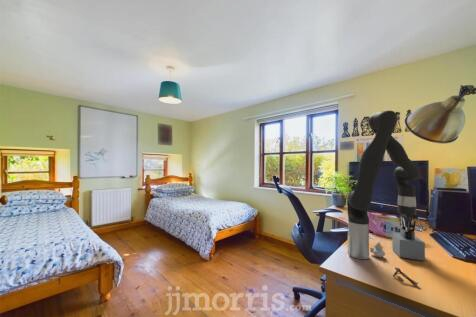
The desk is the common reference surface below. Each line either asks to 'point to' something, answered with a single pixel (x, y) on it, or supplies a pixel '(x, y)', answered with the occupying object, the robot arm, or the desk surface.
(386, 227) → the gum box
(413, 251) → the grey rectangular box
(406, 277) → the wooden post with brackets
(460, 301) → the desk surface
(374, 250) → the pale blue irregular piece
